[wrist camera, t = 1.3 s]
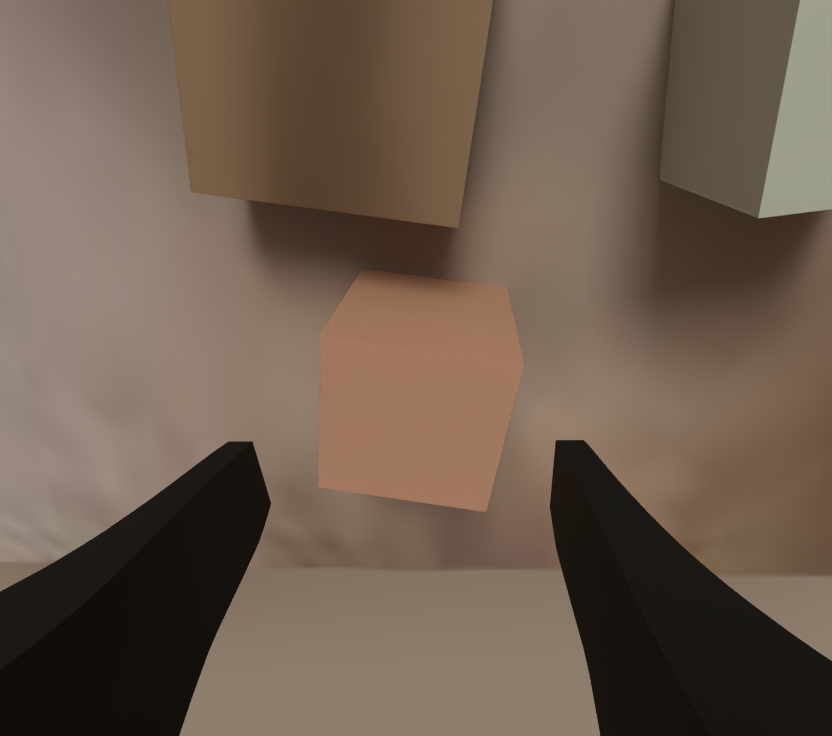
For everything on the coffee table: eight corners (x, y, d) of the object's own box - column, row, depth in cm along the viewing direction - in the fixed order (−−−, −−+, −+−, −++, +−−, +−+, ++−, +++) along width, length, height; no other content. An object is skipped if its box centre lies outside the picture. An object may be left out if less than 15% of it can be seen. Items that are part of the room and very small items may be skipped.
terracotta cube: (506, 287, 16) (524, 364, 11) (480, 406, 19) (486, 512, 14) (362, 267, 16) (319, 336, 11) (355, 389, 19) (318, 487, 14)
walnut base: (504, -91, 12) (518, -161, 8) (460, 202, 15) (458, 228, 12) (226, -124, 12) (142, -203, 9) (246, 174, 15) (191, 192, 12)
